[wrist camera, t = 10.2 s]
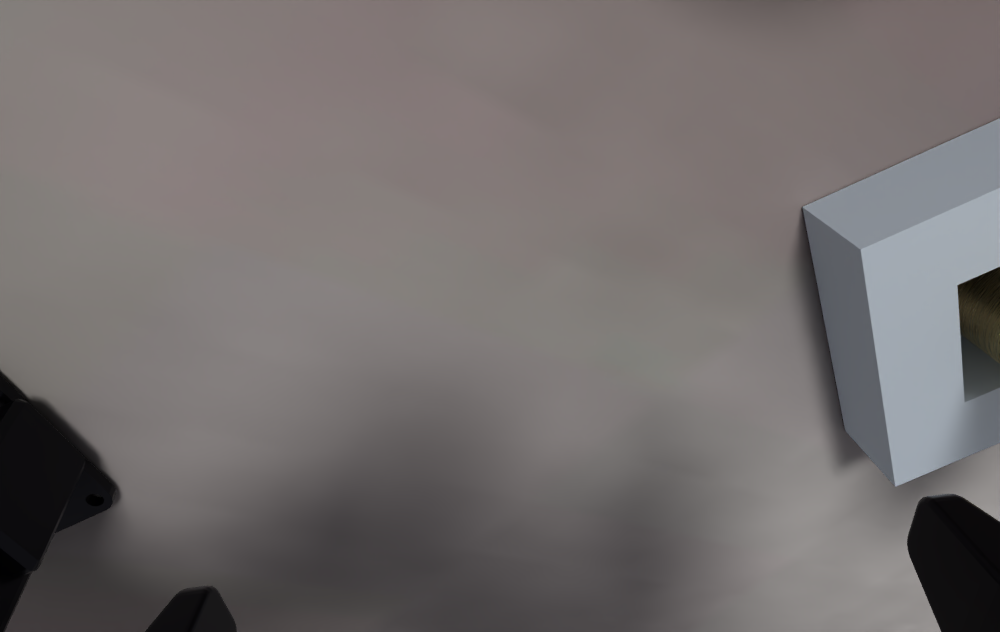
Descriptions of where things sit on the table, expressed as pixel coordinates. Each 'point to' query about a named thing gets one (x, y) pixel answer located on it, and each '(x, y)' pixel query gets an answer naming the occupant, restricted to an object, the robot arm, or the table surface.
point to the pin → (981, 312)
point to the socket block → (912, 303)
